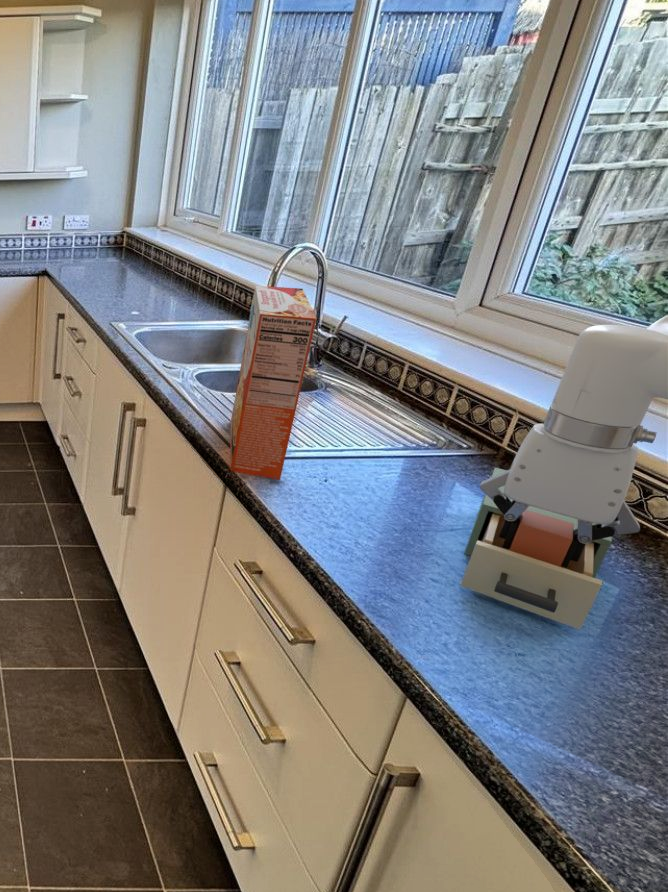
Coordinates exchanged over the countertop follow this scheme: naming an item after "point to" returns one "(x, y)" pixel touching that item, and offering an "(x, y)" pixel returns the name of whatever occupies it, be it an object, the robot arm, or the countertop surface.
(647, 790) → the countertop surface
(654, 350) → the robot arm
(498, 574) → the drawer
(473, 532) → the cabinet
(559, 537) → the block
